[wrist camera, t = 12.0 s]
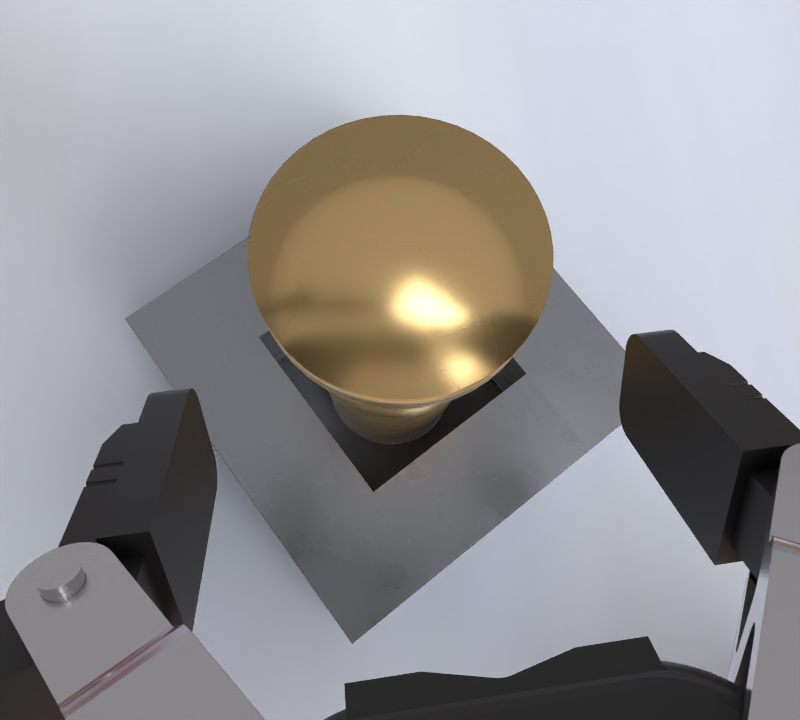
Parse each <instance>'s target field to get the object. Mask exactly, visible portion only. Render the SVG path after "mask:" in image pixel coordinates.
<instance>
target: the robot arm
mask: <svg viewBox="0 0 800 720" xmlns="http://www.w3.org/2000/svg"><path fill="white" fill-rule="evenodd" d="M619 413H620V419H621V424H622V427H623V430H624V432H625V434H626V436H627V437H628V439H629V440H630V442H631V443H632V445H633V446H634V448H635V449H636V451H637V452H638V454H639V455H640V457H641V458H642V459H643V461H644V462H645V464H646V465H647V467H648V468H649V470H650V471H651V473H652V474H653V476H654V477H655V478H656V480H657V481H658V483H659V484H660V486H661V487H662V489H663V490H664V492H665V493H666V495H667V496H668V498H669V499H670V500H671V502H672V503H673V505H674V506H675V508H676V509H677V511H678V512H679V514H680V515H681V517H682V518H683V519H684V521H685V522H686V524H687V525H688V527H689V528H690V530H691V531H692V533H693V534H694V536H695V537H696V539H697V540H698V541H699V543H700V544H701V546H702V547H703V549H704V550H705V552H706V553H707V555H708V556H709V558H710V559H711V560H712V562H713V563H714V565H719V564H726V563H732V562H739V561H743V562H744V563H745V564H746V566H747V567H748V569H749V572H748V576H747V579H746V583H745V587H744V593H743V599H742V604H741V610H740V615H739V621H738V627H737V632H736V638H735V643H734V649H733V655H732V660H731V666H730V671H729V676H728V680H727V679H725V678H722V677H720V676H717V675H715V674H713V673H710V672H708V671H704V670H701V669H698V668H695V667H691V666H688V665H683V664H678V663H673V662H668V661H660V659H659V657H658V655H657V653H656V651H655V649H654V647H653V645H652V644H651V642H650V640H649V638H648V636H647V637H640V638H634V639H627V640H621V641H615V642H608V643H602V644H595V645H589V646H583V647H576V648H573V649H571V650H569V651H566V652H564V653H562V654H559V655H557V656H555V657H553V658H550V659H548V660H546V661H544V662H541V663H539V664H537V665H534V666H532V667H530V668H528V669H525V670H523V671H521V672H518V673H516V674H514V675H512V676H509V677H505V678H488V677H476V676H464V675H453V674H441V673H430V672H416V673H409V674H403V675H397V676H390V677H384V678H377V679H371V680H365V681H358V682H352V683H345V702H346V709H345V710H342V711H340V712H338V713H336V714H334V715H332V716H330V717H328V718H326V719H325V720H800V430H799V429H798V428H797V427H796V426H795V425H794V424H793V423H792V422H791V421H790V420H789V419H787V418H786V417H785V416H784V415H783V414H782V413H781V412H780V411H779V410H778V409H777V408H776V407H775V406H774V405H773V404H771V403H770V402H769V401H768V400H767V399H766V398H764V399H763V398H762V394H761V393H760V392H759V391H758V390H757V389H755V388H754V387H753V386H752V385H748V381H747V380H746V379H745V378H744V377H743V376H742V375H741V374H739V373H738V372H737V371H736V370H735V369H734V368H733V367H732V366H731V365H730V364H728V363H726V362H724V361H722V360H720V359H718V358H716V357H714V356H711V355H709V354H707V353H705V352H699V353H698V352H697V351H696V350H695V349H694V348H693V347H692V346H691V345H689V344H688V343H687V342H686V341H685V340H684V339H683V338H682V337H681V336H680V335H679V334H678V333H677V332H676V331H674V330H664V331H656V332H648V333H640V334H633V335H631V336H630V337H629V339H628V341H627V344H626V351H625V359H624V368H623V376H622V384H621V393H620V401H619ZM93 466H94V469H93V470H91V472H90V475H89V477H88V479H87V481H86V487H84V488H83V491H82V493H81V495H80V498H79V500H78V502H77V505H76V507H75V509H74V512H73V514H72V516H71V519H70V521H69V523H68V526H67V528H66V530H65V533H64V535H63V537H62V540H61V542H60V544H59V547H58V548H56V549H54V550H52V551H50V552H48V553H46V554H44V555H42V556H40V557H39V558H37V559H36V560H34V561H33V562H32V563H30V564H29V565H28V566H27V567H25V568H24V569H23V570H22V571H21V572H20V573H19V574H18V576H17V577H16V578H15V579H14V581H13V582H12V584H11V585H10V587H9V589H8V592H7V594H6V599H4V600H2V601H0V720H265V719H264V718H263V716H262V715H261V714H260V713H259V712H258V710H257V709H256V708H255V707H254V706H253V705H252V703H251V702H250V701H249V700H248V699H247V697H246V696H245V695H244V694H243V693H242V691H241V690H240V689H239V688H238V687H237V685H236V684H235V683H234V682H233V681H232V679H231V678H230V677H229V676H228V675H227V673H226V672H225V671H224V670H223V669H222V667H221V666H220V665H219V664H218V663H217V661H216V660H215V659H214V658H213V657H212V656H211V654H210V653H209V652H208V651H207V650H206V648H205V647H204V646H203V645H202V644H201V642H200V641H199V640H198V639H197V638H196V636H195V635H194V634H193V633H192V630H193V624H194V618H195V612H196V606H197V601H198V595H199V589H200V583H201V577H202V572H203V566H204V560H205V554H206V549H207V543H208V537H209V531H210V525H211V520H212V514H213V508H214V502H215V496H216V490H217V469H216V461H215V456H214V453H213V449H212V445H211V442H210V438H209V434H208V431H207V427H206V424H205V420H204V416H203V413H202V409H201V405H200V402H199V399H198V396H197V393H196V391H195V390H194V389H193V388H190V389H182V390H174V391H166V392H158V393H151V394H149V396H148V398H147V400H146V403H145V406H144V408H143V411H142V414H141V416H140V419H139V422H138V423H132V424H124V425H122V426H121V427H120V428H118V429H117V430H116V431H115V432H114V433H113V434H112V435H111V436H110V437H109V438H108V439H107V440H106V441H105V442H104V443H103V444H102V447H101V449H100V451H99V454H98V456H97V458H96V461H95V463H94V465H93Z"/></svg>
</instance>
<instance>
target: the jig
mask: <svg viewBox="0 0 800 720" xmlns="http://www.w3.org/2000/svg"><path fill="white" fill-rule="evenodd" d="M248 240H249V238H247V239H246V240H244V241H243V242H241V243H239V244H238V245H236V246H235V247H233V248H232V249H230V250H229V251H227V252H226V253H224V254H223V255H221V256H220V257H218V258H217V259H215V260H214V261H212V262H211V263H209V264H208V265H206V266H205V267H203V268H202V269H200V270H199V271H197V272H196V273H194V274H193V275H191V276H190V277H188V278H186V279H185V280H183V281H182V282H180V283H179V284H177V285H176V286H174V287H173V288H171V289H170V290H168V291H167V292H165V293H164V294H162V295H161V296H159V297H158V298H156V299H155V300H153V301H152V302H150V303H149V304H147V305H146V306H144V307H143V308H141V309H140V310H138V311H137V312H135V313H133V314H132V315H130V316H129V317H127V318H126V319H125V320H126V321H127V322H128V324H129V325H130V327H131V328H132V330H133V331H134V332H135V334H136V335H137V337H138V338H139V340H140V341H141V343H142V344H143V345H144V347H145V348H146V350H147V351H148V353H149V354H150V355H151V357H152V358H153V360H154V361H155V363H156V364H157V365H158V367H159V368H160V370H161V371H162V373H163V374H164V375H165V377H166V378H167V380H168V381H169V383H170V384H171V385H172V387H173V388H174V390H182V389H190V388H193V389H194V390H195V391H196V393H197V396H198V399H199V402H200V405H201V409H202V413H203V416H204V420H205V424H206V427H207V431H208V434H209V438H210V441H211V443H212V444H213V445H214V447H215V448H216V450H217V451H218V453H219V454H220V456H221V457H222V458H223V460H224V461H225V463H226V464H227V466H228V467H229V468H230V470H231V471H232V473H233V474H234V476H235V477H236V478H237V480H238V481H239V483H240V484H241V486H242V487H243V488H244V490H245V491H246V493H247V494H248V496H249V497H250V498H251V500H252V501H253V503H254V504H255V506H256V507H257V508H258V510H259V511H260V513H261V514H262V516H263V517H264V518H265V520H266V521H267V523H268V524H269V526H270V527H271V528H272V530H273V531H274V533H275V534H276V536H277V537H278V538H279V540H280V541H281V543H282V544H283V546H284V547H285V548H286V550H287V551H288V553H289V554H290V556H291V557H292V558H293V560H294V561H295V563H296V564H297V566H298V567H299V568H300V570H301V571H302V573H303V574H304V576H305V577H306V579H307V580H308V581H309V583H310V584H311V586H312V587H313V589H314V590H315V591H316V593H317V594H318V596H319V597H320V599H321V600H322V601H323V603H324V604H325V606H326V607H327V609H328V610H329V611H330V613H331V614H332V616H333V617H334V619H335V620H336V621H337V623H338V624H339V626H340V627H341V629H342V630H343V631H344V633H345V634H346V636H347V637H348V639H349V640H350V641H351V643H354V642H355V641H356V640H357V639H359V638H360V637H361V636H362V635H363V634H365V633H366V632H367V631H368V630H370V629H371V628H372V627H373V626H374V625H376V624H377V623H378V622H379V621H381V620H382V619H383V618H384V617H385V616H387V615H388V614H389V613H390V612H392V611H393V610H394V609H395V608H397V607H398V606H399V605H400V604H401V603H403V602H404V601H405V600H406V599H408V598H409V597H410V596H411V595H412V594H414V593H415V592H416V591H417V590H419V589H420V588H421V587H422V586H424V585H425V584H426V583H427V582H428V581H430V580H431V579H432V578H433V577H435V576H436V575H437V574H438V573H439V572H441V571H442V570H443V569H444V568H446V567H447V566H448V565H449V564H451V563H452V562H453V561H454V560H455V559H457V558H458V557H459V556H460V555H462V554H463V553H464V552H465V551H466V550H468V549H469V548H470V547H471V546H473V545H474V544H475V543H476V542H477V541H479V540H480V539H481V538H482V537H484V536H485V535H486V534H487V533H489V532H490V531H491V530H492V529H493V528H495V527H496V526H497V525H498V524H500V523H501V522H502V521H503V520H504V519H506V518H507V517H508V516H509V515H511V514H512V513H513V512H514V511H516V510H517V509H518V508H519V507H520V506H522V505H523V504H524V503H525V502H527V501H528V500H529V499H530V498H531V497H533V496H534V495H535V494H536V493H538V492H539V491H540V490H541V489H542V488H544V487H545V486H546V485H547V484H549V483H550V482H551V481H552V480H554V479H555V478H556V477H557V476H558V475H560V474H561V473H562V472H563V471H565V470H566V469H567V468H568V467H569V466H571V465H572V464H573V463H574V462H576V461H577V460H578V459H579V458H581V457H582V456H583V455H584V454H585V453H587V452H588V451H589V450H590V449H592V448H593V447H594V446H595V445H596V444H598V443H599V442H600V441H601V440H603V439H604V438H605V437H606V436H607V435H609V434H610V433H611V432H612V431H614V430H615V429H616V428H617V427H619V426H620V425H621V419H620V413H619V401H620V393H621V384H622V376H623V368H624V359H625V350H624V349H623V348H622V347H621V346H620V344H619V343H618V342H617V341H616V340H615V339H614V338H613V336H612V335H611V334H610V333H609V332H608V331H607V329H606V328H605V327H604V326H603V325H602V324H601V323H600V321H599V320H598V319H597V318H596V317H595V316H594V314H593V313H592V312H591V311H590V310H589V309H588V308H587V306H586V305H585V304H584V303H583V302H582V301H581V299H580V298H579V297H578V296H577V295H576V294H575V293H574V291H573V290H572V289H571V288H570V287H569V286H568V284H567V283H566V282H565V281H564V280H563V279H562V278H561V276H560V275H559V274H558V273H557V272H556V271H555V269H554V268H553V274H552V280H551V287H550V291H549V294H548V298H547V301H546V304H545V307H544V309H543V311H542V314H541V316H540V318H539V320H538V322H537V324H536V326H535V327H534V329H533V330H532V332H531V333H530V335H529V336H528V338H527V340H526V341H525V342H524V343H523V345H522V346H521V347H520V349H519V350H518V351H517V353H516V354H515V355H514V356H513V357H512V358H511V360H510V361H509V362H508V363H507V364H506V365H505V366H504V368H503V369H501V370H500V371H499V372H498V373H497V374H496V375H495V376H493V377H492V379H493V380H494V382H495V383H496V384H497V385H498V387H499V388H500V389H501V390H502V391H503V392H502V393H501V394H500V395H498V396H497V397H496V398H495V399H493V400H492V401H491V402H489V403H488V404H487V405H485V406H484V407H483V408H482V409H480V410H479V411H478V412H476V413H475V414H474V415H472V416H471V417H470V418H469V419H467V420H466V421H465V422H463V423H462V424H461V425H460V426H458V427H457V428H456V429H454V430H453V431H452V432H450V433H449V434H448V435H447V436H445V437H444V438H443V439H441V440H440V441H439V442H437V443H436V444H435V445H434V446H432V447H431V448H430V449H428V450H427V451H426V452H424V453H423V454H422V455H421V456H419V457H418V458H417V459H415V460H414V461H413V462H412V463H410V464H409V465H408V466H406V467H405V468H404V469H402V470H401V471H400V472H399V473H397V474H396V475H395V476H393V477H392V478H391V479H389V480H388V481H387V482H386V483H384V484H383V485H382V486H380V487H379V488H378V489H377V490H375V491H374V492H373V491H372V489H371V488H370V487H369V485H368V484H367V483H366V481H365V480H364V479H363V477H362V476H361V474H360V473H359V472H358V470H357V469H356V468H355V466H354V465H353V464H352V462H351V461H350V460H349V458H348V457H347V456H346V454H345V453H344V452H343V450H342V449H341V447H340V446H339V445H338V443H337V442H336V441H335V439H334V438H333V437H332V435H331V434H330V433H329V431H328V430H327V429H326V427H325V426H324V425H323V423H322V422H321V421H320V419H319V418H318V416H317V415H316V414H315V412H314V411H313V410H312V408H311V407H310V406H309V404H308V403H307V402H306V400H305V399H304V398H303V396H302V395H301V394H300V392H299V391H298V390H297V388H296V387H295V385H294V384H293V383H292V381H291V380H290V379H289V377H288V376H287V375H286V373H285V372H284V371H283V369H282V368H281V367H280V365H279V364H278V362H279V361H281V360H282V359H284V358H285V357H287V356H286V355H285V354H284V353H283V351H282V350H281V348H280V347H279V345H278V344H277V342H276V340H275V339H274V337H273V336H272V334H271V332H270V330H269V328H268V327H267V325H266V323H265V321H264V319H263V317H262V315H261V313H260V310H259V308H258V306H257V304H256V301H255V298H254V294H253V291H252V288H251V284H250V278H249V271H248Z"/></svg>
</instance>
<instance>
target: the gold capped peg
mask: <svg viewBox="0 0 800 720" xmlns="http://www.w3.org/2000/svg"><path fill="white" fill-rule="evenodd" d="M248 271H249V278H250V284H251V288H252V291H253V294H254V298H255V301H256V304H257V306H258V308H259V310H260V313H261V315H262V317H263V319H264V321H265V323H266V325H267V327H268V328H269V330H270V332H271V334H272V336H273V337H274V339H275V340H276V342H277V344H278V345H279V347H280V348H281V350H282V351H283V353H284V354H285V355H286V356H287V357H288V358H289V360H290V361H291V362H292V363H293V364H294V365H295V366H296V367H297V368H298V369H299V370H300V371H301V372H302V373H304V374H305V375H306V376H307V377H308V378H309V379H311V380H312V381H314V382H315V383H317V384H318V385H320V386H321V387H323V388H324V389H326V390H328V391H329V394H330V396H331V399H332V402H333V405H334V407H335V409H336V411H337V414H338V415H339V417H340V418H341V420H342V421H343V422H344V423H345V425H346V426H347V427H348V428H349V429H351V430H352V431H353V432H354V433H356V434H357V435H359V436H360V437H362V438H364V439H366V440H369V441H372V442H375V443H380V444H401V443H406V442H409V441H412V440H415V439H417V438H419V437H421V436H423V435H424V434H426V433H427V432H428V431H429V430H431V429H432V428H433V427H434V426H435V425H436V424H437V422H438V421H439V420H440V418H441V417H442V415H443V414H444V412H445V410H446V408H447V407H448V405H449V403H450V401H451V400H454V399H457V398H459V397H461V396H463V395H465V394H467V393H469V392H471V391H473V390H475V389H477V388H478V387H480V386H481V385H483V384H484V383H486V382H487V381H489V380H490V379H491V378H492V377H493V376H495V375H496V374H497V373H498V372H499V371H500V370H501V369H503V368H504V366H505V365H506V364H507V363H508V362H509V361H510V360H511V358H512V357H513V356H514V355H515V354H516V353H517V351H518V350H519V349H520V347H521V346H522V345H523V343H524V342H525V341H526V340H527V338H528V336H529V335H530V333H531V332H532V330H533V329H534V327H535V326H536V324H537V322H538V320H539V318H540V316H541V314H542V311H543V309H544V307H545V304H546V301H547V298H548V294H549V291H550V287H551V280H552V274H553V245H552V237H551V231H550V228H549V224H548V220H547V217H546V214H545V211H544V209H543V207H542V204H541V202H540V200H539V198H538V196H537V194H536V192H535V191H534V189H533V187H532V186H531V184H530V182H529V181H528V180H527V178H526V177H525V176H524V175H523V173H522V172H521V171H520V169H519V168H518V167H517V166H516V165H515V164H514V163H513V162H512V161H511V160H510V159H509V158H508V157H507V156H506V155H505V154H504V153H502V152H501V151H500V150H498V149H497V148H496V147H495V146H493V145H492V144H491V143H489V142H487V141H486V140H484V139H483V138H481V137H479V136H478V135H476V134H474V133H472V132H470V131H468V130H465V129H463V128H461V127H459V126H456V125H453V124H450V123H447V122H444V121H440V120H436V119H431V118H426V117H421V116H408V115H388V116H377V117H371V118H364V119H361V120H357V121H353V122H350V123H346V124H344V125H341V126H339V127H336V128H334V129H331V130H329V131H327V132H325V133H323V134H322V135H320V136H318V137H316V138H315V139H313V140H311V141H310V142H309V143H307V144H306V145H304V146H303V147H302V148H300V149H299V150H298V151H296V152H295V153H294V154H293V155H292V156H291V157H290V158H289V159H288V160H287V161H286V162H285V163H284V164H283V165H282V166H281V168H280V169H279V170H278V171H277V172H276V174H275V175H274V176H273V177H272V179H271V181H270V182H269V184H268V185H267V187H266V189H265V190H264V192H263V194H262V196H261V198H260V200H259V203H258V205H257V207H256V210H255V212H254V216H253V220H252V223H251V227H250V232H249V240H248Z"/></svg>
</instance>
